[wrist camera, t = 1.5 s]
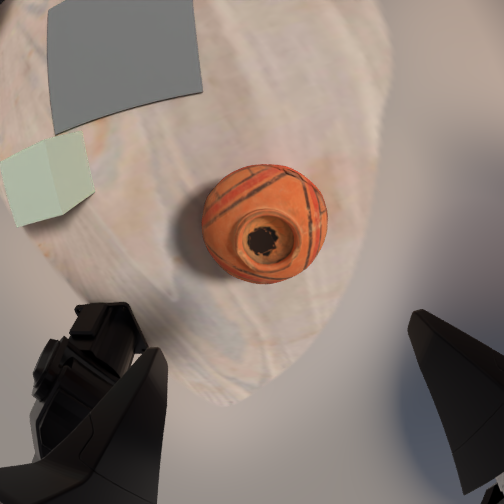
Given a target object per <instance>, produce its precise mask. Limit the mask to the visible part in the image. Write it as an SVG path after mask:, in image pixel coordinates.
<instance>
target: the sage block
mask: <svg viewBox="0 0 504 504" xmlns="http://www.w3.org/2000/svg"><path fill="white" fill-rule="evenodd" d="M0 169H1V174H2V178H3V182H4V186H5V190H6V194H7V198H8V201H9V205H10V208H11V211H12V214H13V218H14V221H15V224H16V227H17V228H18V227H21V226H24V225H28V224H31V223H35V222H38V221H42V220H45V219H49V218H53V217H57V216H60V215H63V214H65V213H66V212H67V211H69V210H70V209H72V208H73V207H74V206H76V205H77V204H78V203H80V202H81V201H83V200H84V199H86V198H87V197H88V196H90V195H91V194H93V193H94V192H95V189H94V185H93V181H92V177H91V172H90V168H89V163H88V159H87V154H86V149H85V144H84V138H83V133H82V131H78V132H73V133H69V134H65V135H60V136H56V137H52V138H48V139H45V140H42V141H40V142H38V143H36V144H34V145H32V146H30V147H28V148H26V149H24V150H22V151H20V152H18V153H16V154H14V155H12V156H10V157H8V158H7V159H5V160H3V161H1V162H0Z"/></svg>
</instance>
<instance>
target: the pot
mask: <svg viewBox="0 0 504 504" xmlns="http://www.w3.org/2000/svg"><path fill="white" fill-rule="evenodd" d="M327 224H328V216H327V209H326V206H325V201H324V199H323V196H322V194H321V192H320V191H319V189H318V188H317V187H316V186H315V185H314V184H313V183H312V182H311V181H310V180H309V179H307V178H306V177H305V176H304V175H302V174H301V173H299V172H297V171H295V170H294V169H291V168H289V167H286V166H281V165H272V164H269V165H267V164H261V165H251V166H247V167H243V168H241V169H238V170H236V171H234V172H232V173H230V174H229V175H227V176H226V177H224V178H223V179H222V180H221V181H220V182H219V183H218V184H217V185H216V187H215V188H214V189H213V190H212V191H211V193H210V194H209V196H208V197H207V199H206V202H205V205H204V210H203V216H202V233H203V239H204V242H205V245H206V247H207V249H208V251H209V253H210V254H211V256H212V257H213V258H214V260H215V261H216V262H217V263H218V264H219V265H220V267H221V268H222V269H223V270H225V271H226V272H227V273H229V274H230V275H232V276H234V277H236V278H238V279H241V280H244V281H247V282H251V283H256V284H272V283H277V282H281V281H284V280H286V279H289V278H291V277H293V276H295V275H297V274H299V273H301V272H302V271H303V270H305V269H306V268H307V267H308V266H309V265H310V264H311V263H312V262H313V260H314V259H315V257H316V256H317V255H318V253H319V251H320V249H321V247H322V245H323V243H324V240H325V237H326V233H327Z"/></svg>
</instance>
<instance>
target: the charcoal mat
mask: <svg viewBox="0 0 504 504" xmlns="http://www.w3.org/2000/svg"><path fill="white" fill-rule="evenodd" d="M47 57H48V78H49V91H50V101H51V109H52V117H53V124H54V130H55V134H58V133H61V132H63V131H66V130H68V129H71V128H73V127H76V126H78V125H81V124H84V123H86V122H89V121H92V120H95V119H98V118H101V117H103V116H107V115H110V114H113V113H116V112H119V111H123V110H126V109H129V108H133V107H137V106H140V105H144V104H148V103H152V102H156V101H160V100H165V99H169V98H174V97H178V96H183V95H189V94H194V93H200V92H203V87H202V79H201V71H200V63H199V55H198V46H197V37H196V28H195V19H194V9H193V0H65V1H63V2H62V3H60V4H58V5H56V6H54V7H53V8H51V9H49V11H48V31H47Z"/></svg>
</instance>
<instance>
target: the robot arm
mask: <svg viewBox="0 0 504 504" xmlns="http://www.w3.org/2000/svg"><path fill="white" fill-rule="evenodd" d="M124 307H125V308H126V309H125V308H124ZM74 310H75V313H76V314H77V316H78V318H77V319H76V321H75V323H74V324H73V326H72V328H71V329H70V332H69V334H70V335H71V336H70V337H69V339H67V338H66V337H65V336H63V338H62V339H61V340H60V341H58V340H54V339H50V340H49V341H48V343H47V344H46V346H45V348H44V350H43V352H42V353H41V355H40V357H39V360H38V362H37V364H36V366H35V369H34V371H33V377H34V386H33V387H34V388H33V392H32V396H33V397H35V398H36V399H37V400H36V402H35V404H34V406H33V408H32V411H31V413H30V424H31V431H32V437H33V443H34V449H35V455H34V458H33V461H32V463H30V464H24V465H18V466H10V467H2V468H0V504H157V495H158V482H159V470H160V459H161V450H162V441H163V432H164V425H165V416H166V408H167V383H168V364H167V361H166V359H165V357H164V355H163V353H162V351H161V349H160V348H159V347H148V345H147V343H146V341H145V339H144V336H143V334H142V332H141V330H140V328H139V326H138V324H137V321H136V319H135V317H134V315H133V312H132V310H131V308H130V306H129V304H128V303H126V302H119V303H98V304H86V305H77V306H76V307H75V309H74ZM408 335H409V338H410V340H411V343H412V346H413V349H414V352H415V355H416V358H417V362H418V364H419V367H420V369H421V372H422V374H423V377H424V379H425V381H426V383H427V386H428V388H429V390H430V393H431V396H432V398H433V401H434V403H435V406H436V408H437V411H438V414H439V416H440V419H441V422H442V424H443V427H444V430H445V433H446V436H447V439H448V442H449V445H450V448H451V451H452V455H453V458H454V462H455V465H456V468H457V472H458V475H459V479H460V483H461V487H462V491H463V494H464V495H466V494H468V493H470V492H472V491H474V490H475V489H477V488H479V487H481V486H482V485H484V484H486V483H488V482H489V481H491V480H492V479H494V478H496V480H497V482H496V483H495V484H494V485H492V486H491V487H490V488H488V489H487V490H486V492H485V495H484V497H483V500H482V502H481V504H504V355H502V354H500V353H499V352H497V351H495V350H493V349H492V348H490V347H489V346H487V345H485V344H483V343H482V342H480V341H478V340H477V339H475V338H473V337H471V336H470V335H468V334H466V333H464V332H463V331H461V330H459V329H458V328H456V327H454V326H452V325H451V324H449V323H447V322H445V321H444V320H441V319H440V318H438V317H436V316H435V315H433V314H431V313H429V312H427V311H426V310H423V309H420V310H416V311H413V313H412V315H411V318H410V321H409V325H408ZM134 354H142V355H141V356H140V357H139V358H138V359H137V360H136V361H135V363H134V364H133V365H132V366H131V364H132V360H133V357H134Z"/></svg>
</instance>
